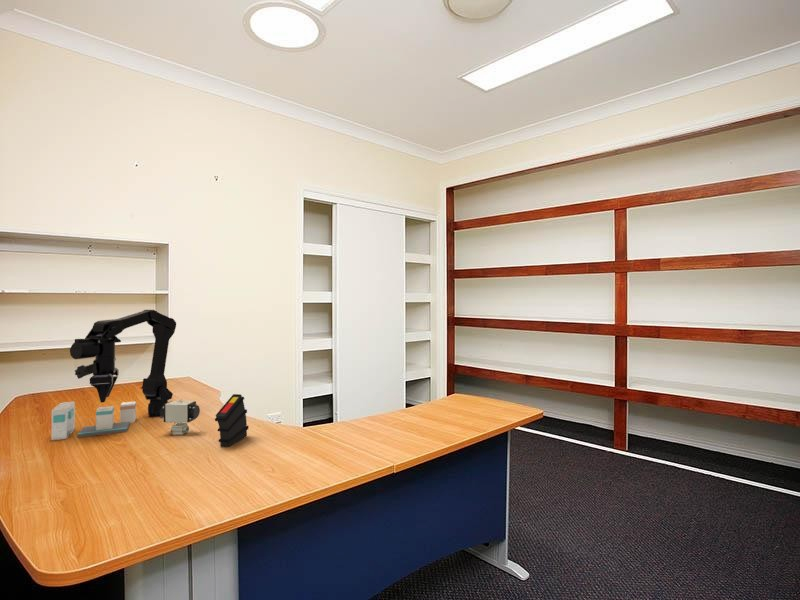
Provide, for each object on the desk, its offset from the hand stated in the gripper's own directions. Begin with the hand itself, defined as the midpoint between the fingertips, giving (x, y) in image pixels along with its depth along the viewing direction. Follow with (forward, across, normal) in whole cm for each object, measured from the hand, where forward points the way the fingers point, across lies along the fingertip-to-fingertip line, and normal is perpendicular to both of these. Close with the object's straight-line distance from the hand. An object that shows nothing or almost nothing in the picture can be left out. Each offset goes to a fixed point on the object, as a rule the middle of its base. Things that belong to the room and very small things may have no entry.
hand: (104, 399), depth 150 cm
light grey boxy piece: (+11, -10, +6) cm, 16 cm away
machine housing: (+11, -1, -12) cm, 16 cm away
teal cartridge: (+10, 0, 0) cm, 10 cm away
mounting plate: (+11, 0, 0) cm, 11 cm away
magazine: (+11, +34, +39) cm, 53 cm away
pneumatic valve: (+11, +16, +24) cm, 31 cm away
